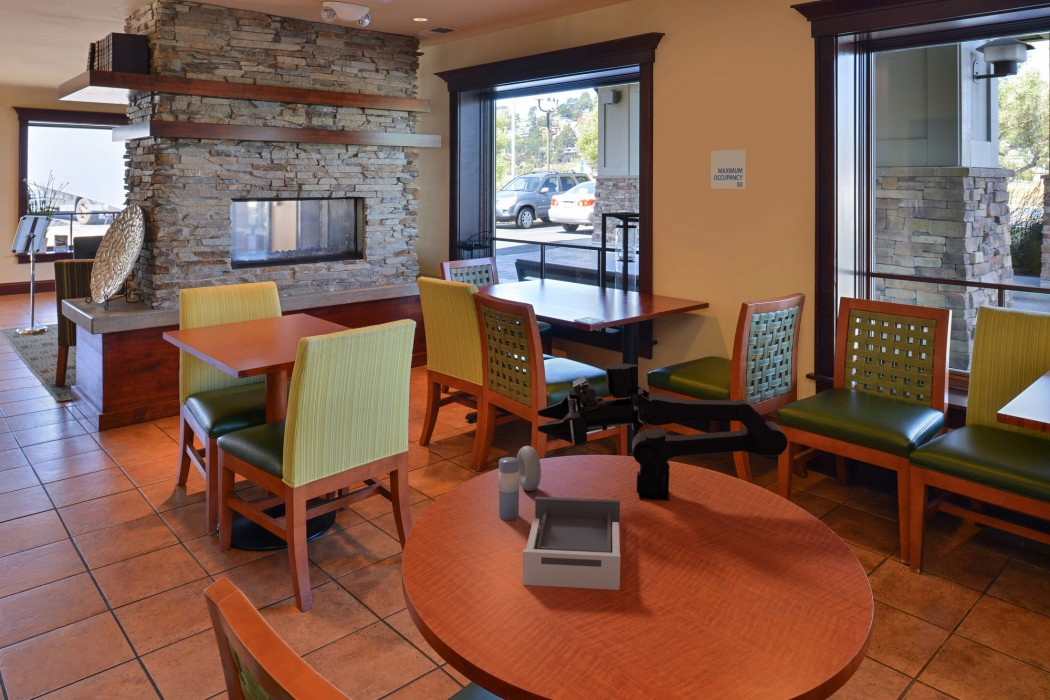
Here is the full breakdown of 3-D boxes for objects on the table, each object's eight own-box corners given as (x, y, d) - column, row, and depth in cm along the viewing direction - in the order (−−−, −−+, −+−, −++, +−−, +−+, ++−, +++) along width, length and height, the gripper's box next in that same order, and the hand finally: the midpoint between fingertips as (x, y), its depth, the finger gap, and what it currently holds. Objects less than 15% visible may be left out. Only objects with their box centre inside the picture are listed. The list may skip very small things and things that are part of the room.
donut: (543, 496, 172) (543, 453, 170) (528, 498, 171) (528, 454, 169) (528, 481, 181) (528, 439, 179) (514, 482, 180) (514, 440, 178)
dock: (533, 538, 151) (533, 508, 150) (618, 542, 150) (619, 512, 148) (522, 584, 133) (522, 551, 132) (619, 589, 132) (620, 556, 130)
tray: (535, 518, 159) (535, 496, 159) (619, 522, 158) (620, 500, 157) (526, 560, 142) (526, 535, 141) (620, 564, 140) (621, 540, 139)
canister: (520, 512, 163) (520, 457, 161) (517, 521, 159) (517, 464, 157) (500, 512, 164) (500, 456, 161) (497, 520, 160) (497, 463, 157)
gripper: (603, 364, 177) (533, 372, 178) (610, 392, 159) (533, 400, 160) (607, 411, 180) (539, 418, 181) (614, 443, 162) (539, 450, 163)
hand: (537, 420), depth 171 cm, fingers open, 9 cm apart
